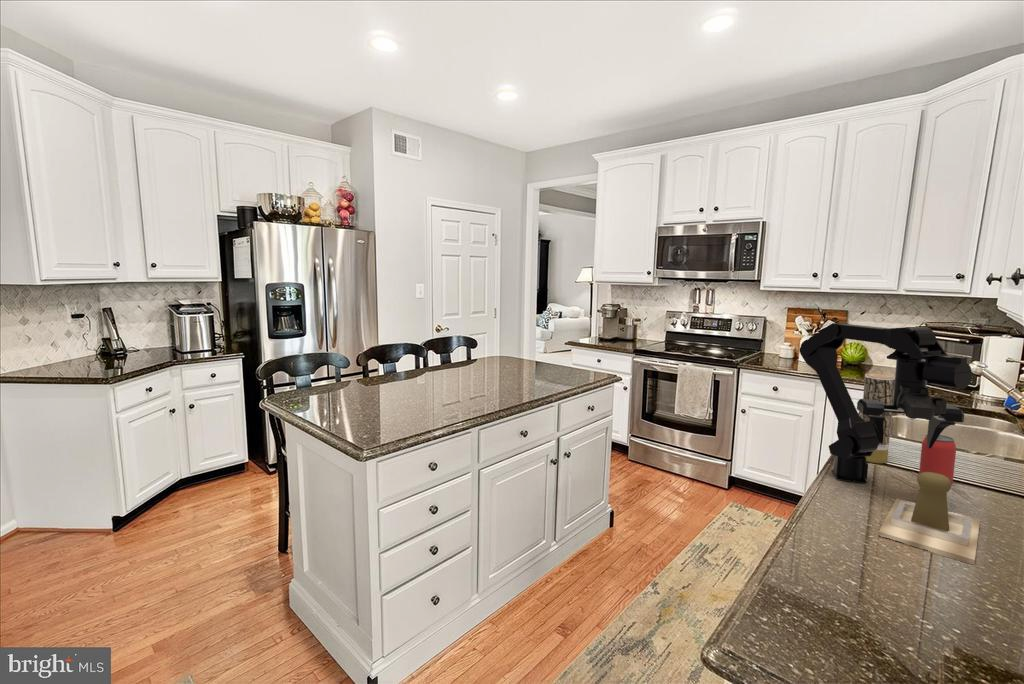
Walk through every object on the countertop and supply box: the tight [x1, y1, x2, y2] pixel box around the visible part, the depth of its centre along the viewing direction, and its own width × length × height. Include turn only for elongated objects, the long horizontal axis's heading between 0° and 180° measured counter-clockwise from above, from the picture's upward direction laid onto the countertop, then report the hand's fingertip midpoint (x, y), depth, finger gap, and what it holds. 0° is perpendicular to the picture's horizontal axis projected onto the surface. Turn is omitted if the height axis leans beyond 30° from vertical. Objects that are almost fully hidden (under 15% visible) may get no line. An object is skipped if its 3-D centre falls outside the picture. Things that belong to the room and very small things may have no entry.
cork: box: [911, 472, 952, 532], centre depth 98 cm, size 6×6×11 cm
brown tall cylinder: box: [861, 373, 895, 464], centre depth 137 cm, size 7×7×25 cm
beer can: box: [918, 434, 957, 486], centre depth 122 cm, size 7×7×12 cm
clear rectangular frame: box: [891, 501, 972, 546], centre depth 99 cm, size 12×12×2 cm
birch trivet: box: [877, 498, 981, 566], centre depth 99 cm, size 14×22×1 cm, turn 134°
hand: (904, 445), depth 112 cm, fingers open, 9 cm apart
